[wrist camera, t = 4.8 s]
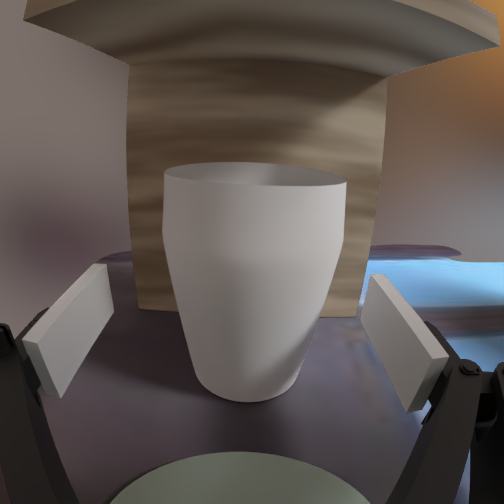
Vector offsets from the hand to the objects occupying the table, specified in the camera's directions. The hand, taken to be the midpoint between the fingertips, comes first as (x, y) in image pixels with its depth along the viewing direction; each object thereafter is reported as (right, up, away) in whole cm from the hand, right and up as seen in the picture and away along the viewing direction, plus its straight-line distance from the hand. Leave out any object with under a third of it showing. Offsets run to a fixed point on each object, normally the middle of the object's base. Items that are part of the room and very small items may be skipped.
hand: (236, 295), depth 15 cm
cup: (0, -5, +4) cm, 7 cm away
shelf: (0, -5, +4) cm, 7 cm away
